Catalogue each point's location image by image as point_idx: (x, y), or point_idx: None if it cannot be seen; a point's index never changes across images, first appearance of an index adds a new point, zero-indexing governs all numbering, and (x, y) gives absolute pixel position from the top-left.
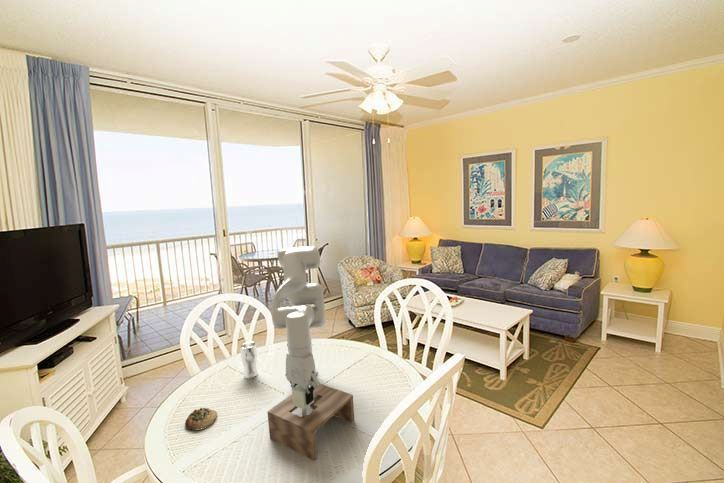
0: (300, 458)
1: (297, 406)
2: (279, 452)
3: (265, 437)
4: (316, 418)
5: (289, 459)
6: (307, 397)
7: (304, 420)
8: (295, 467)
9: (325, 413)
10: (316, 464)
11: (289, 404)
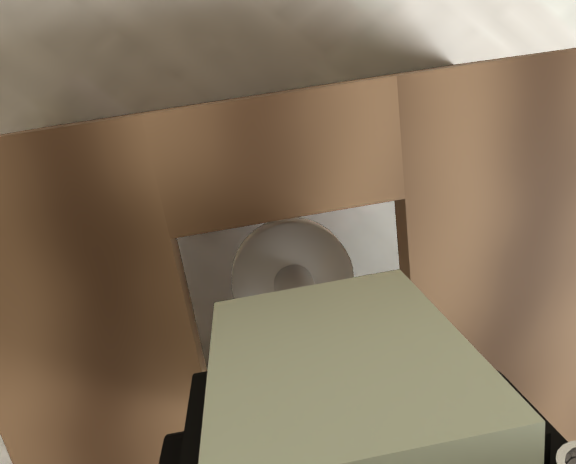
0: (131, 82)
1: (326, 285)
2: (291, 22)
3: (488, 50)
4: (58, 320)
5: (181, 26)
6: (183, 459)
7: (129, 217)
8: (84, 4)
9: (62, 422)
10: (3, 117)
11: (490, 275)
